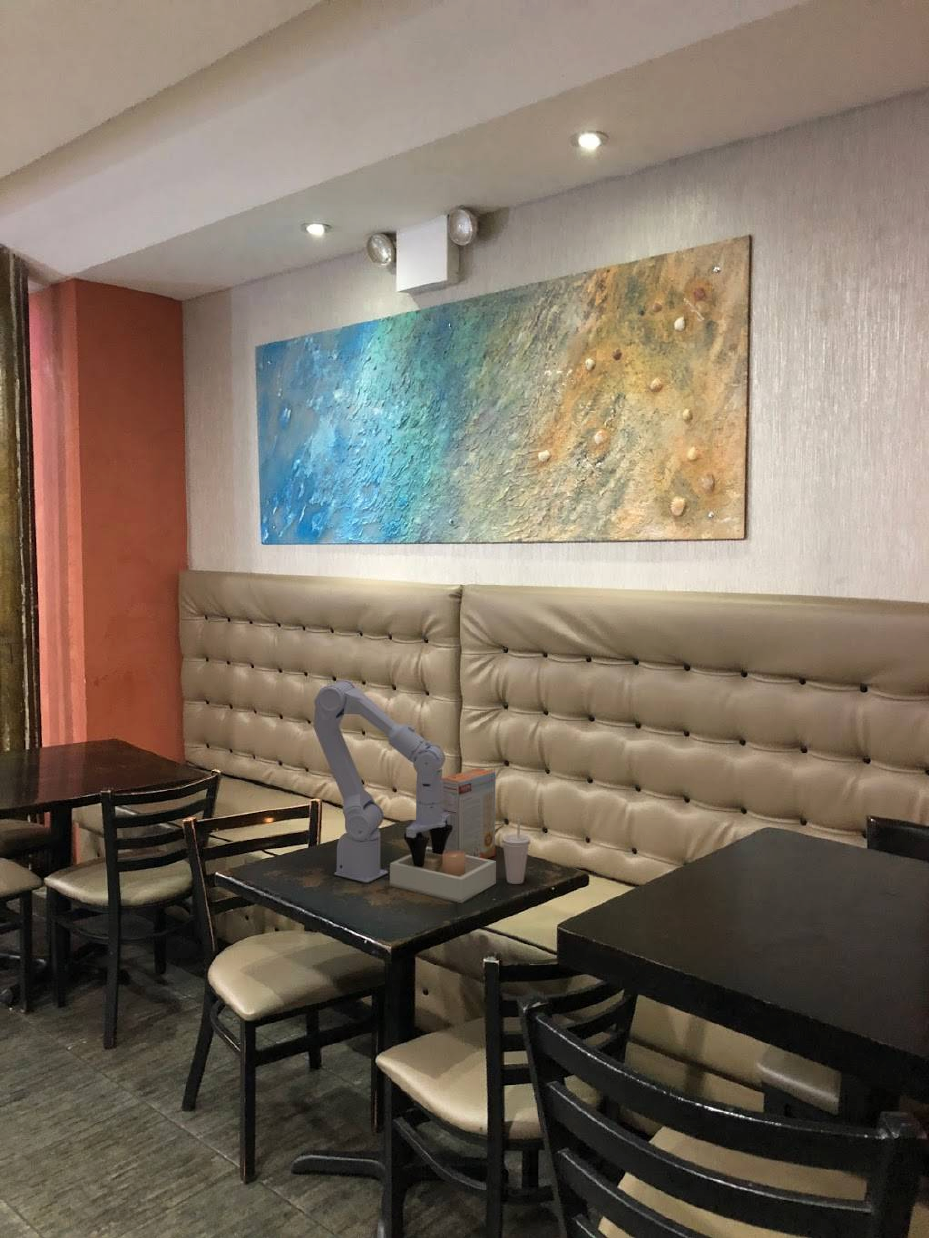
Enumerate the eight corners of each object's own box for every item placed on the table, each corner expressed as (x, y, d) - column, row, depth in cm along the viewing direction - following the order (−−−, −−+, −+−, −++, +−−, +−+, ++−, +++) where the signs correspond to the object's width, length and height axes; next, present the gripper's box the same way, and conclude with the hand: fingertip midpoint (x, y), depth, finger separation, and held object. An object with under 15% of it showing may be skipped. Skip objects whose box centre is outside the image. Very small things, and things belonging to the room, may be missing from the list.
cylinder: (437, 886, 207) (438, 854, 206) (450, 879, 211) (450, 848, 210) (457, 890, 204) (457, 858, 204) (469, 883, 208) (470, 852, 208)
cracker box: (476, 851, 233) (477, 766, 232) (495, 856, 229) (497, 770, 228) (439, 865, 222) (440, 776, 221) (459, 870, 219) (460, 781, 217)
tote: (389, 885, 208) (390, 863, 208) (426, 867, 220) (426, 846, 220) (461, 903, 198) (461, 879, 198) (495, 883, 211) (496, 861, 210)
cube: (432, 884, 208) (433, 861, 207) (413, 879, 210) (414, 857, 210) (444, 877, 212) (445, 855, 212) (426, 873, 215) (426, 851, 214)
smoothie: (527, 887, 209) (528, 824, 208) (498, 884, 210) (499, 822, 209) (531, 877, 215) (532, 816, 214) (503, 875, 216) (504, 814, 215)
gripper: (425, 811, 202) (424, 874, 203) (461, 796, 214) (460, 856, 215) (398, 806, 206) (397, 867, 207) (435, 792, 218) (434, 850, 219)
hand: (428, 861), depth 211 cm, fingers open, 7 cm apart
